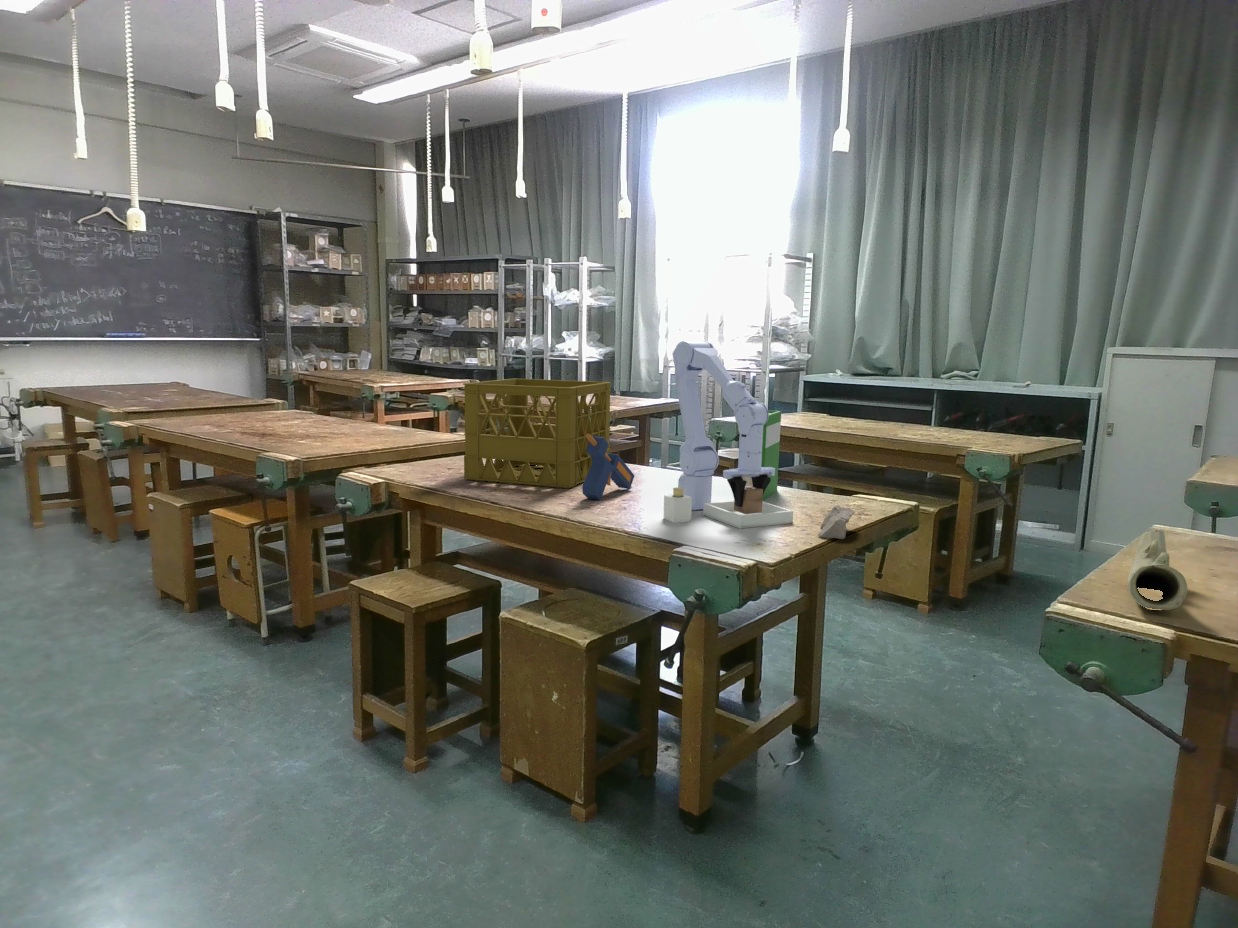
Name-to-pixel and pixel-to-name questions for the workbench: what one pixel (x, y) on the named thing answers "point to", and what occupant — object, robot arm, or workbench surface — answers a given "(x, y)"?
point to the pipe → (1156, 573)
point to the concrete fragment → (836, 523)
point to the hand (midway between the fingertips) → (747, 505)
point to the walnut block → (751, 501)
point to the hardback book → (770, 451)
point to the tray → (747, 515)
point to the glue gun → (604, 469)
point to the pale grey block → (677, 506)
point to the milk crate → (533, 431)
